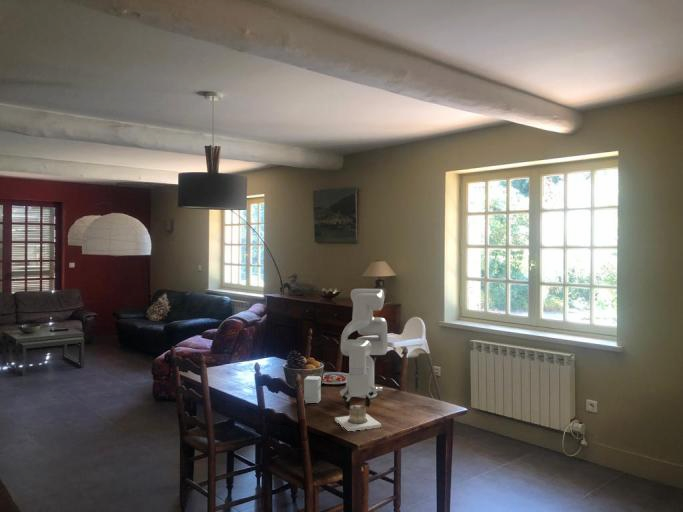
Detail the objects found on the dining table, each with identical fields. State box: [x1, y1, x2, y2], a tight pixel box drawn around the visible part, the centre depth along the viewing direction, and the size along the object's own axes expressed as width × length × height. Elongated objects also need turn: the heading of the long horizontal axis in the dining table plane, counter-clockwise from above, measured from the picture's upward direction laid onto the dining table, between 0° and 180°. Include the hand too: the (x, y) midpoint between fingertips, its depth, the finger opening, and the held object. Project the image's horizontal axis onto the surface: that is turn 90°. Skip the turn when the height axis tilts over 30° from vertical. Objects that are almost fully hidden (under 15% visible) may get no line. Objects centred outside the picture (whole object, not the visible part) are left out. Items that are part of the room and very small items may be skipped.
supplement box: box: [303, 375, 322, 404], centre depth 282 cm, size 7×7×13 cm
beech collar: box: [348, 404, 367, 423], centre depth 248 cm, size 7×7×6 cm
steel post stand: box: [334, 406, 382, 432], centre depth 248 cm, size 16×16×8 cm
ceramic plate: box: [321, 371, 348, 386], centre depth 324 cm, size 26×26×3 cm
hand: (357, 407), depth 248 cm, fingers open, 9 cm apart
